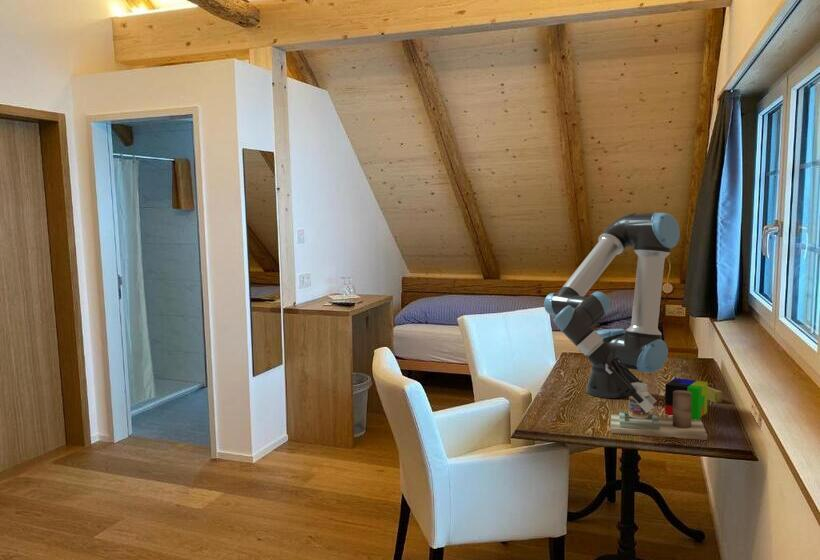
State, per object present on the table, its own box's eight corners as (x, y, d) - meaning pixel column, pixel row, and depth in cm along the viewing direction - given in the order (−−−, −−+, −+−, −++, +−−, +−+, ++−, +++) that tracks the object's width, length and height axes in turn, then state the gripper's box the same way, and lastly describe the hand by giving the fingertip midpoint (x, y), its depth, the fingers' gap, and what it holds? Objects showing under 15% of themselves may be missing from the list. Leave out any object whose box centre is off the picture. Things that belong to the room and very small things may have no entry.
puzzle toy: (675, 407, 213) (675, 377, 212) (707, 412, 206) (707, 382, 205) (665, 414, 205) (665, 384, 204) (698, 420, 199) (698, 388, 198)
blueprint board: (610, 418, 202) (611, 383, 201) (700, 424, 194) (701, 387, 193) (610, 433, 189) (610, 394, 188) (707, 440, 181) (707, 400, 180)
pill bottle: (625, 416, 193) (625, 384, 192) (634, 412, 197) (634, 380, 196) (643, 420, 189) (643, 387, 188) (652, 416, 193) (652, 383, 192)
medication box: (691, 394, 228) (691, 383, 227) (697, 393, 229) (697, 382, 228) (716, 403, 216) (716, 391, 216) (722, 402, 217) (722, 390, 217)
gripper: (593, 350, 206) (646, 406, 200) (580, 363, 190) (637, 423, 184) (610, 335, 204) (664, 391, 197) (598, 346, 187) (657, 407, 181)
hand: (651, 406), depth 191 cm, fingers closed on pill bottle, 6 cm apart
